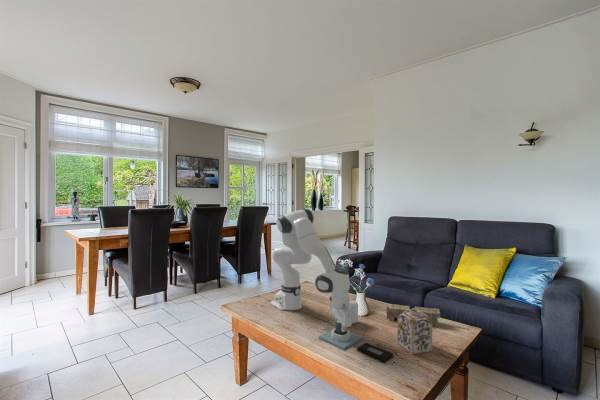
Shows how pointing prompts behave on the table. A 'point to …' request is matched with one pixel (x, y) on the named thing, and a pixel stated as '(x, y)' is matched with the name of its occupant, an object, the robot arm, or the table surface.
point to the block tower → (396, 310)
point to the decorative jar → (414, 331)
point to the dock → (340, 343)
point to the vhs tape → (375, 352)
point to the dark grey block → (338, 328)
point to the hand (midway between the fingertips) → (340, 328)
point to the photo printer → (353, 311)
